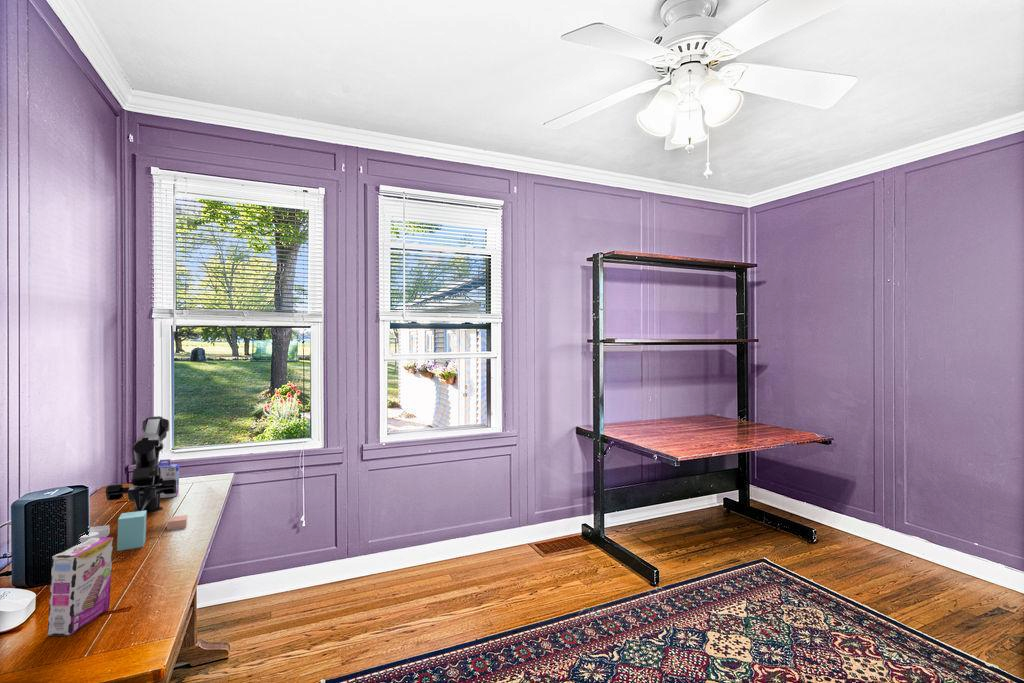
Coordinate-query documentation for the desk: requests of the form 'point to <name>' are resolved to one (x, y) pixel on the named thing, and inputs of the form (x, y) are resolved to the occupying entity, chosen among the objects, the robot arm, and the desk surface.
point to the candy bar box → (79, 585)
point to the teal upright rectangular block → (131, 530)
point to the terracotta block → (177, 522)
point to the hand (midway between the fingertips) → (139, 512)
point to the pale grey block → (101, 530)
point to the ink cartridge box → (169, 475)
